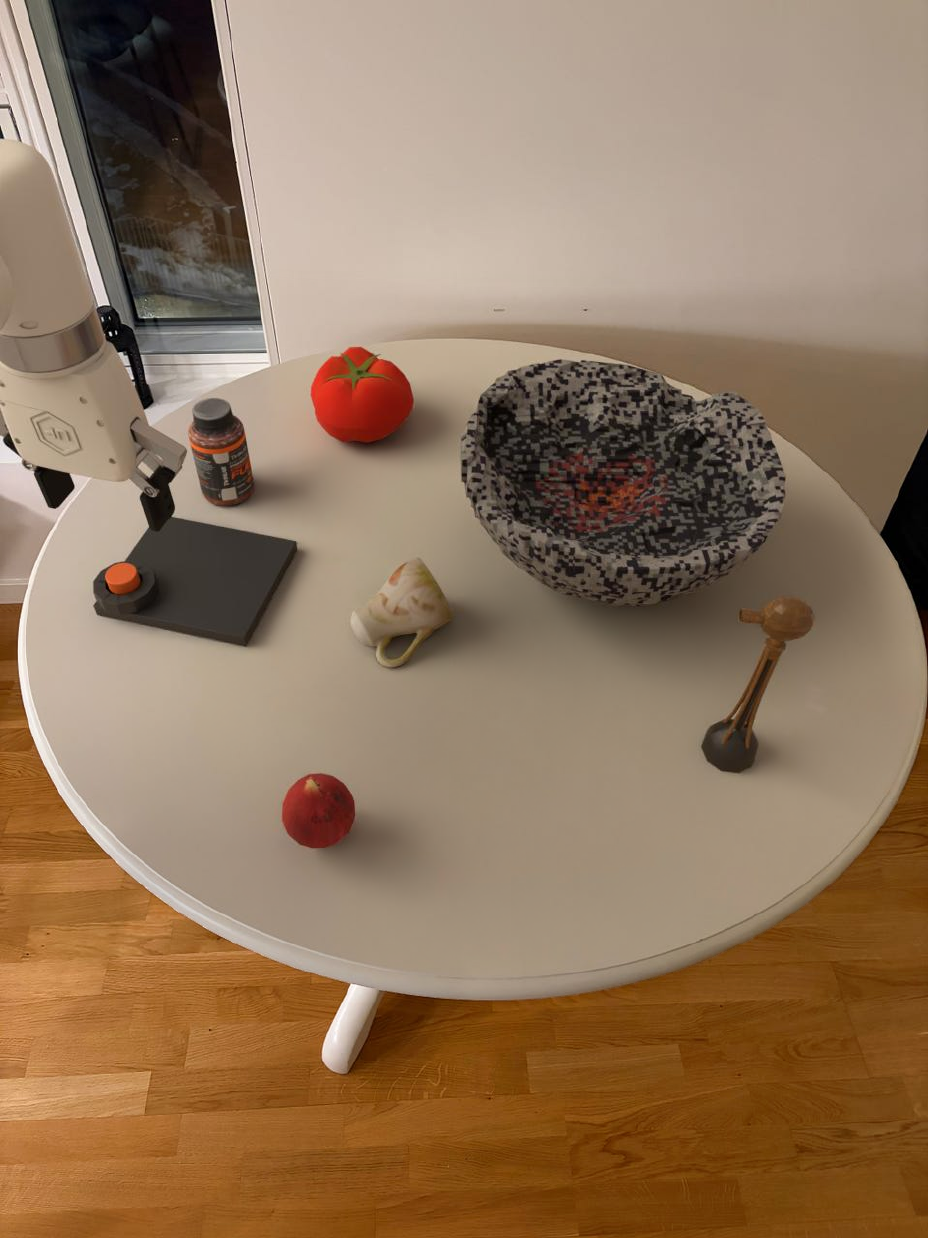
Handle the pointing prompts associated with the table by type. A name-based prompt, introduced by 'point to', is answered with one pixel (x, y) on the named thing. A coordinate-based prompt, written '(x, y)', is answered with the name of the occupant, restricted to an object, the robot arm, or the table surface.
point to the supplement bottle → (220, 453)
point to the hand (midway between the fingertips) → (112, 509)
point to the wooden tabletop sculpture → (756, 683)
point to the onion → (318, 811)
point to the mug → (402, 611)
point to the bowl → (619, 480)
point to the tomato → (360, 396)
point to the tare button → (122, 578)
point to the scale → (200, 580)
